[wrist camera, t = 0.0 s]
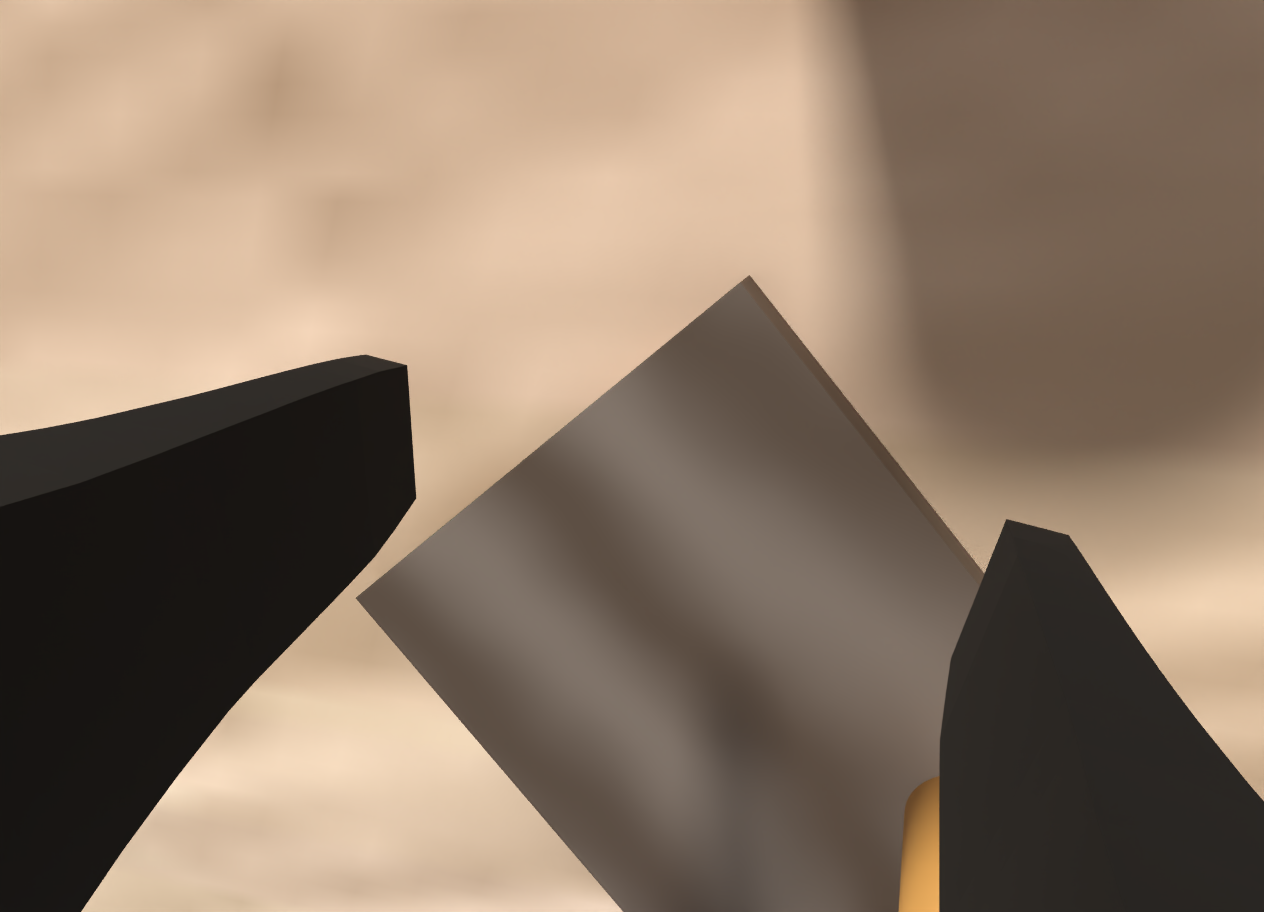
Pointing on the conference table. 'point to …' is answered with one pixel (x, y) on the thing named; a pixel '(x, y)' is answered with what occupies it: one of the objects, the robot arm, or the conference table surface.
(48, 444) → the robot arm
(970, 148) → the conference table surface
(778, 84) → the conference table surface
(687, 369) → the lane rack
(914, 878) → the orange mallet
